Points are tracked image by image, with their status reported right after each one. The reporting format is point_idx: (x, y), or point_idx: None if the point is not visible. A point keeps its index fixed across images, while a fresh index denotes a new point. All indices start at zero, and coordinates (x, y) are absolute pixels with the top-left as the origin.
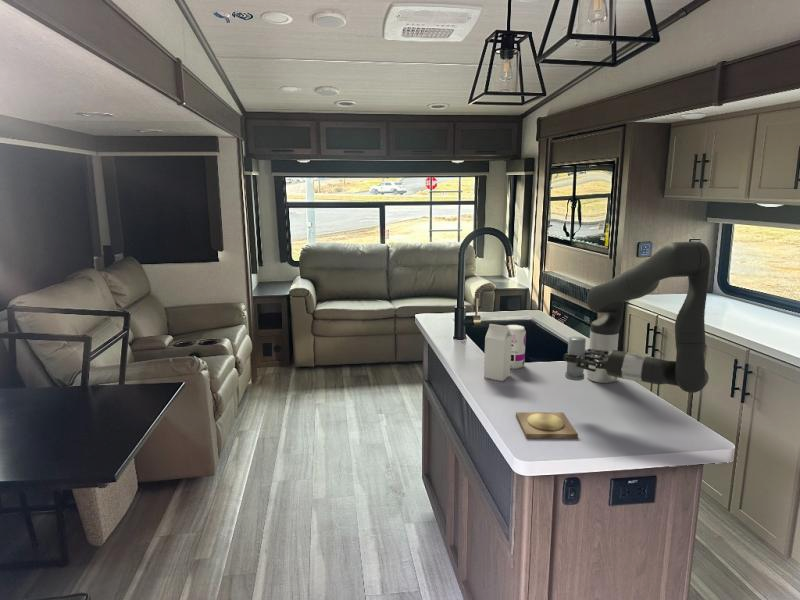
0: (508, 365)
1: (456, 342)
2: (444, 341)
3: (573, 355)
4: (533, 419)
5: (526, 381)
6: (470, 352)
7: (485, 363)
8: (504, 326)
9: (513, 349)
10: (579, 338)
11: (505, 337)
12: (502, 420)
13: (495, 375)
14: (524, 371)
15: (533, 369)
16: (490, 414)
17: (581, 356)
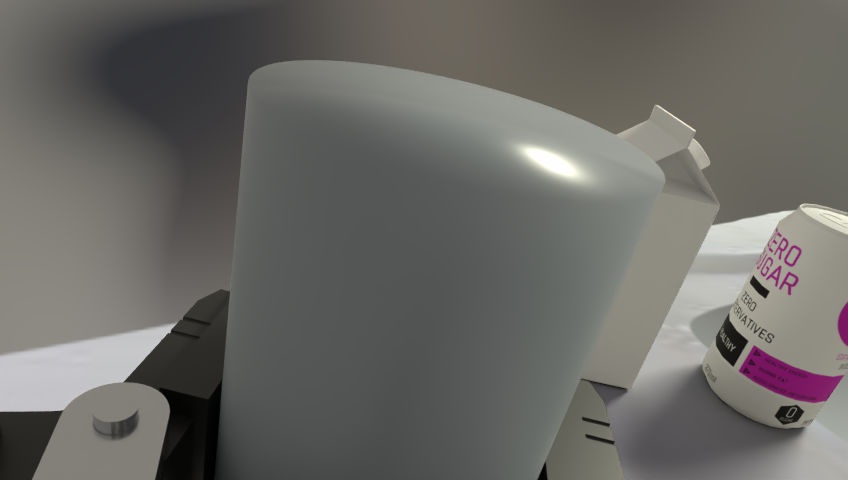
0: (624, 336)
1: (753, 258)
2: (726, 239)
3: (197, 351)
4: None
5: (622, 458)
6: (718, 284)
7: None
8: (682, 126)
9: (758, 314)
10: (523, 140)
11: None
12: (16, 392)
13: None
14: (737, 440)
15: (805, 476)
16: (105, 347)
17: (114, 467)
